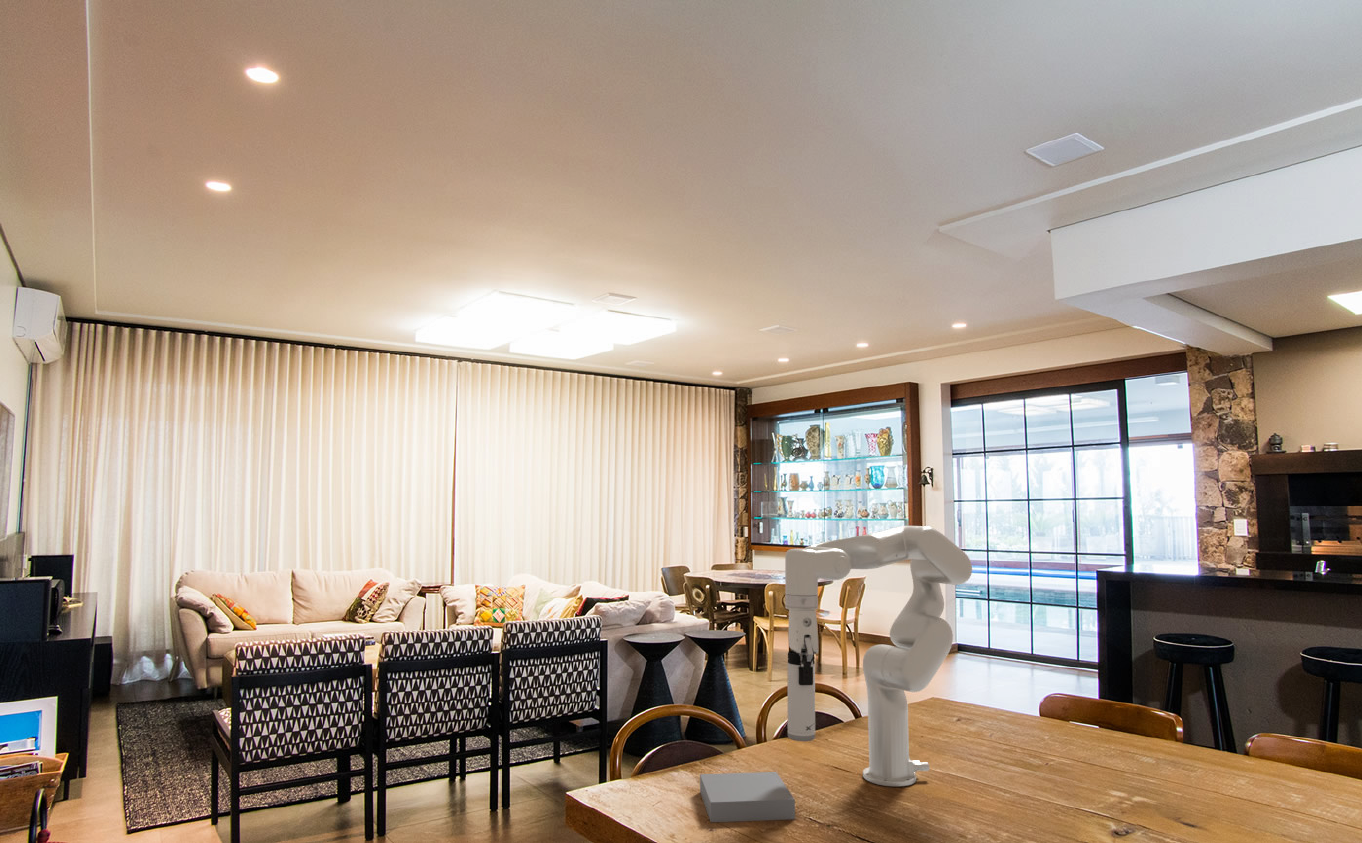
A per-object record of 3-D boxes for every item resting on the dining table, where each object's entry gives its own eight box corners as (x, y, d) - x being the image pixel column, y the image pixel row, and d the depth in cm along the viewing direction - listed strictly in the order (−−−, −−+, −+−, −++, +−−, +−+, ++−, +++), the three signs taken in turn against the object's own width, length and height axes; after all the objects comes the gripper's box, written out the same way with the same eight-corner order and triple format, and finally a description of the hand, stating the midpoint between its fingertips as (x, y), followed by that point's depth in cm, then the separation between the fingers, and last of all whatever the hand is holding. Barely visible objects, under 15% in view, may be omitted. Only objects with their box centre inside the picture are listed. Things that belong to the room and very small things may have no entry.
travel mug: (816, 742, 182) (815, 651, 184) (786, 740, 183) (786, 649, 185) (817, 734, 188) (816, 646, 190) (788, 732, 189) (788, 645, 191)
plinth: (776, 789, 189) (776, 771, 189) (795, 818, 171) (794, 799, 172) (700, 791, 187) (700, 774, 188) (710, 822, 169) (710, 802, 170)
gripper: (827, 606, 180) (828, 689, 179) (807, 598, 198) (808, 673, 196) (794, 606, 180) (795, 690, 178) (777, 598, 197) (777, 674, 195)
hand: (801, 680), depth 187 cm, fingers closed on travel mug, 6 cm apart
